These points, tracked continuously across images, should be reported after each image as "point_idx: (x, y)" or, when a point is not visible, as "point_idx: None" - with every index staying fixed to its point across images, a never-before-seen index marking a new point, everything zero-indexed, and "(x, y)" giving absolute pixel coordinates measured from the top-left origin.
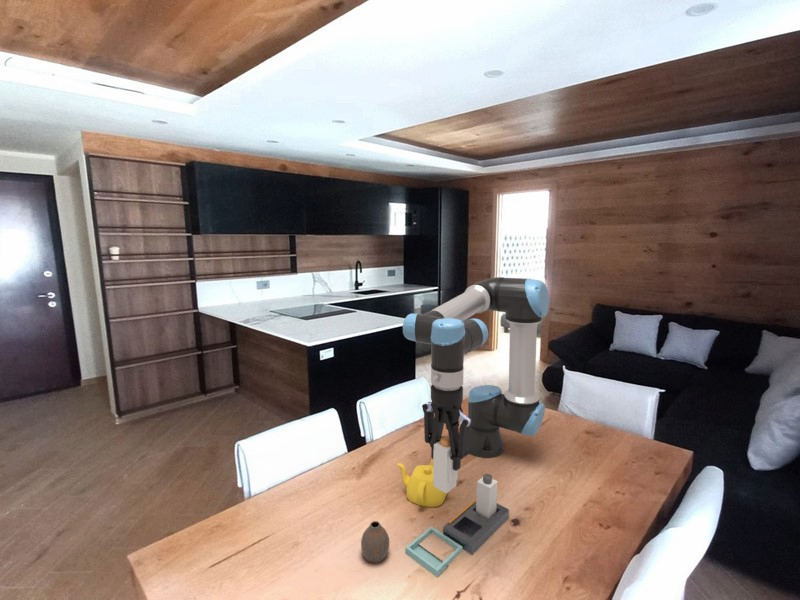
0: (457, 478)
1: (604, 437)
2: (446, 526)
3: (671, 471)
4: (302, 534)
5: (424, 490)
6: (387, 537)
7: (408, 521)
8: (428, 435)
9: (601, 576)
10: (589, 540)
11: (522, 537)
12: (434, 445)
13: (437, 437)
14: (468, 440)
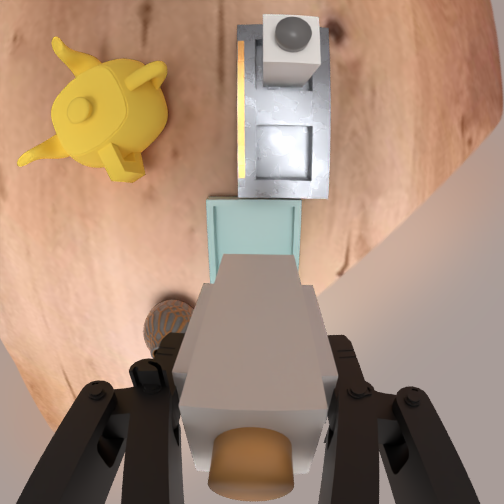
0: (312, 287)
1: None
2: (243, 189)
3: None
4: (78, 349)
5: (121, 150)
6: (186, 328)
7: (148, 206)
8: (116, 467)
9: (491, 88)
10: (453, 14)
11: (371, 67)
12: (202, 467)
13: (178, 475)
14: (462, 480)
